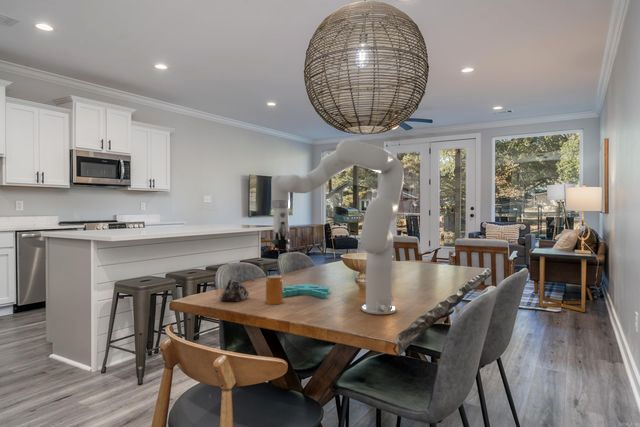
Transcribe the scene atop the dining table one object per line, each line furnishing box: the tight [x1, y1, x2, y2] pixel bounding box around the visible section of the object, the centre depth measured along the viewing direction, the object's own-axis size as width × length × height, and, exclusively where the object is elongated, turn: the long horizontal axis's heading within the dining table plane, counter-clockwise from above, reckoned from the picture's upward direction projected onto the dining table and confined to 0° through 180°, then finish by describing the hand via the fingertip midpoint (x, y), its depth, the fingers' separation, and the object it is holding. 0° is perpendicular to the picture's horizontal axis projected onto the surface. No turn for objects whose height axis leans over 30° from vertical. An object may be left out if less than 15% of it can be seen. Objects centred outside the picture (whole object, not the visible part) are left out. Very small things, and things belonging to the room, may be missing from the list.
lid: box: [271, 238, 290, 245], centre depth 168 cm, size 7×7×2 cm
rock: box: [219, 278, 250, 302], centre depth 169 cm, size 13×10×10 cm
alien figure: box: [282, 283, 330, 299], centre depth 184 cm, size 20×2×20 cm
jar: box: [265, 275, 284, 305], centre depth 165 cm, size 7×7×10 cm
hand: (280, 248), depth 168 cm, fingers closed on lid, 6 cm apart
